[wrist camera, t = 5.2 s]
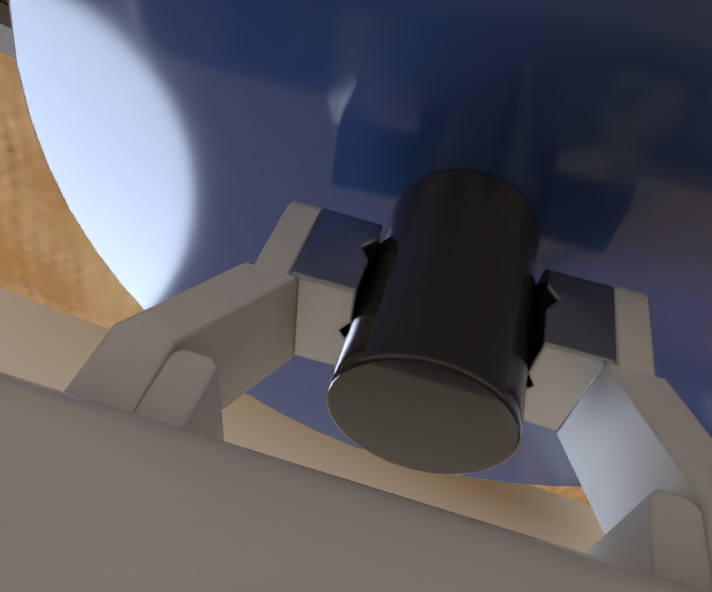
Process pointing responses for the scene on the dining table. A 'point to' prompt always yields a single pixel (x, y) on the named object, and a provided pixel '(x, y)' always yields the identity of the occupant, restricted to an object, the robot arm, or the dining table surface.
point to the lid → (399, 185)
